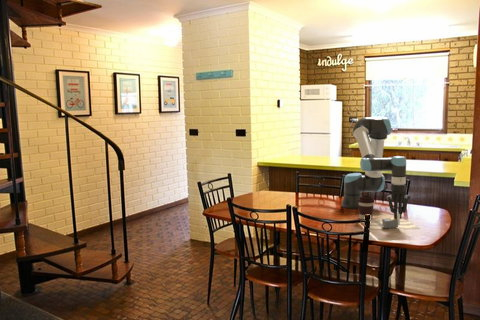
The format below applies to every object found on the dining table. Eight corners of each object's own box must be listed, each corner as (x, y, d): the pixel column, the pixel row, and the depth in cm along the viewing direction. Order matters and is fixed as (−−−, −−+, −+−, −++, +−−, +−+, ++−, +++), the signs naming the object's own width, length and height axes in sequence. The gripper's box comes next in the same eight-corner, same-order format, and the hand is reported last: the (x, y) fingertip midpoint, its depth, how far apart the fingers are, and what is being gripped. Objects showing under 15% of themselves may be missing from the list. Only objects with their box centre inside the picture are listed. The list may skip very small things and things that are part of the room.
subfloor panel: (360, 223, 242) (360, 220, 242) (406, 222, 243) (406, 219, 242) (370, 232, 225) (370, 229, 224) (419, 231, 225) (419, 228, 225)
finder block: (382, 226, 230) (382, 218, 229) (394, 225, 230) (394, 217, 229) (385, 229, 225) (385, 220, 224) (398, 228, 225) (397, 219, 224)
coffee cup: (367, 223, 242) (367, 199, 240) (353, 219, 250) (354, 196, 248) (377, 220, 247) (377, 196, 245) (363, 217, 255) (364, 194, 253)
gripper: (389, 185, 220) (388, 226, 223) (412, 184, 221) (411, 226, 223) (384, 183, 228) (383, 223, 231) (406, 182, 228) (405, 222, 231)
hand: (397, 224), depth 227 cm, fingers closed
